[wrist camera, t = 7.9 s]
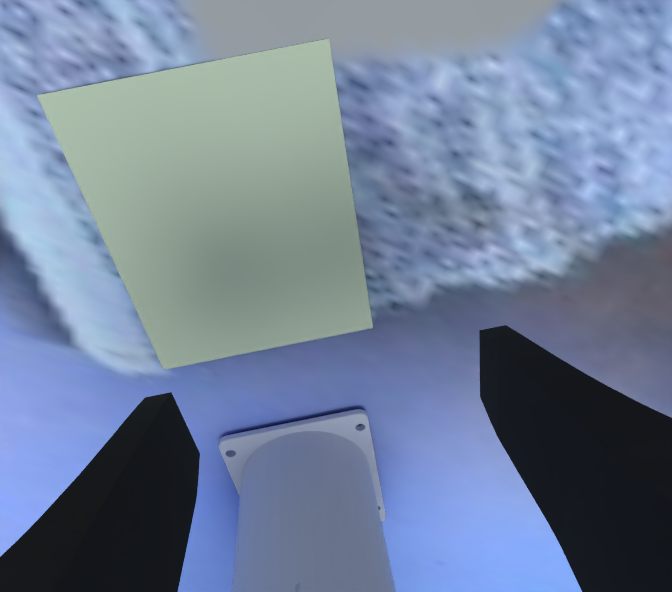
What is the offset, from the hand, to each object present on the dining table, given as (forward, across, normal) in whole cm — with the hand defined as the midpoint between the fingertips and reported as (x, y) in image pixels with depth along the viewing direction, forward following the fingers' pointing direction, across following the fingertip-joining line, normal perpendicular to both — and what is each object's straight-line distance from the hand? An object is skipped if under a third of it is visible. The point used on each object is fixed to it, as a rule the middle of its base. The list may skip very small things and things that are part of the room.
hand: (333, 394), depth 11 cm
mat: (+10, +3, -1) cm, 10 cm away
